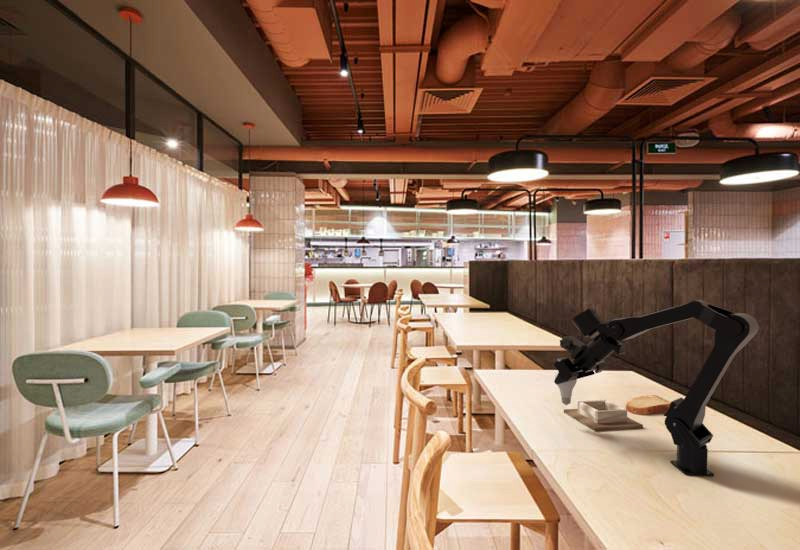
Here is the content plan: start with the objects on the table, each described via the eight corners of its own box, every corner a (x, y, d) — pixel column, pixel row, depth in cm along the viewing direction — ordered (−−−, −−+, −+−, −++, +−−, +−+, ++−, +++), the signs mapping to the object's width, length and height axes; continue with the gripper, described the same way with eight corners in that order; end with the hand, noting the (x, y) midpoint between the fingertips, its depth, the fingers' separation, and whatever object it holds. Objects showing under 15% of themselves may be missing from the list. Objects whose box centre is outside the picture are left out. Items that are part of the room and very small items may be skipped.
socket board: (642, 428, 128) (643, 413, 128) (594, 431, 125) (594, 415, 125) (607, 410, 144) (607, 396, 144) (563, 412, 141) (564, 398, 141)
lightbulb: (578, 409, 125) (578, 371, 124) (556, 408, 126) (556, 371, 126) (575, 401, 131) (574, 366, 130) (554, 400, 132) (553, 365, 132)
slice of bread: (628, 415, 140) (629, 403, 140) (619, 399, 158) (619, 388, 157) (692, 422, 135) (693, 410, 135) (675, 404, 152) (675, 394, 152)
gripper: (595, 325, 130) (562, 355, 139) (560, 330, 119) (526, 363, 128) (621, 355, 124) (584, 385, 133) (586, 364, 113) (549, 395, 122)
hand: (561, 381), depth 129 cm, fingers closed on lightbulb, 6 cm apart
